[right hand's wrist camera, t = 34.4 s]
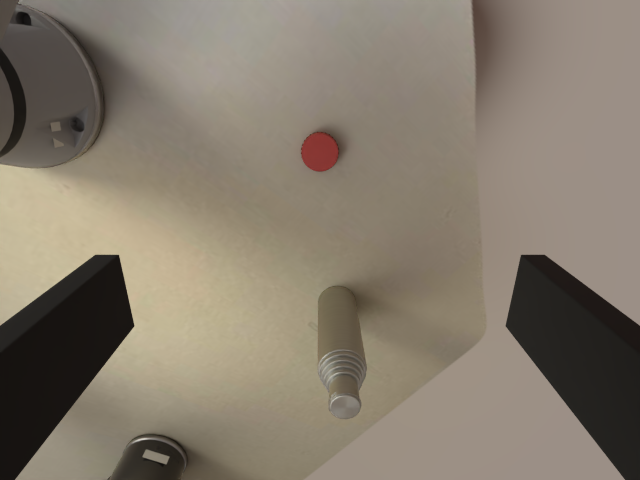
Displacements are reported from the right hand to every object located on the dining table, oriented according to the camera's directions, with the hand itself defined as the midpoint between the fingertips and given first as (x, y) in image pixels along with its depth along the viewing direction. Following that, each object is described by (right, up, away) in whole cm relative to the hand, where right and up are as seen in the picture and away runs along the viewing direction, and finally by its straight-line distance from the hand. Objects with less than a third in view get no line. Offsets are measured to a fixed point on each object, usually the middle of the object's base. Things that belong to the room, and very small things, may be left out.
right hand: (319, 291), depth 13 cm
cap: (0, +11, +27) cm, 29 cm away
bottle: (+2, -6, +35) cm, 36 cm away
